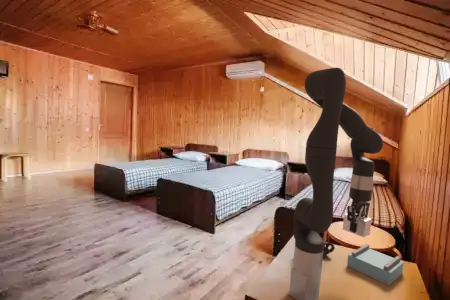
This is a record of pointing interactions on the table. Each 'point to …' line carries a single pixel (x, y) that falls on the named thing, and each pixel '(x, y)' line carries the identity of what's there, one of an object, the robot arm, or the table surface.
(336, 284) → the table surface
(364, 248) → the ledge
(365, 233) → the block
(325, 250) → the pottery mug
